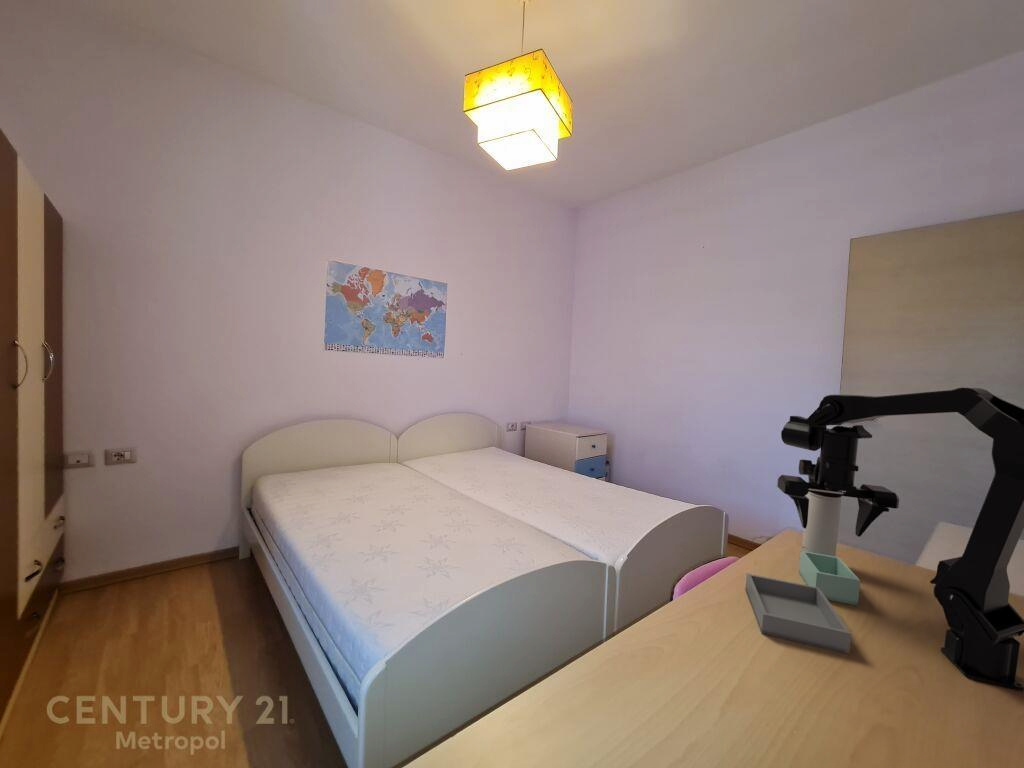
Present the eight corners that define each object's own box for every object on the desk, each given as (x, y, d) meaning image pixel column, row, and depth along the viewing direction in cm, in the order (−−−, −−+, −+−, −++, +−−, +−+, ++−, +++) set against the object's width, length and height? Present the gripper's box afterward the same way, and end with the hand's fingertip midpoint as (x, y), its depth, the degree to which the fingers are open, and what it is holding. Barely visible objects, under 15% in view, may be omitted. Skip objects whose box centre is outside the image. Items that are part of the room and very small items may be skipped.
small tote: (798, 572, 90) (800, 550, 90) (836, 579, 88) (839, 557, 88) (814, 596, 81) (816, 572, 81) (857, 605, 79) (860, 580, 78)
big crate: (817, 604, 78) (818, 587, 78) (849, 654, 65) (851, 633, 65) (745, 589, 83) (746, 573, 82) (761, 633, 69) (763, 614, 69)
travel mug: (794, 559, 97) (801, 476, 95) (810, 554, 99) (818, 474, 98) (823, 572, 91) (832, 484, 89) (840, 567, 94) (849, 481, 92)
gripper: (874, 453, 87) (866, 524, 88) (773, 443, 93) (767, 510, 94) (904, 466, 76) (895, 546, 78) (789, 454, 82) (782, 529, 84)
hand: (830, 531), depth 83 cm, fingers open, 9 cm apart
